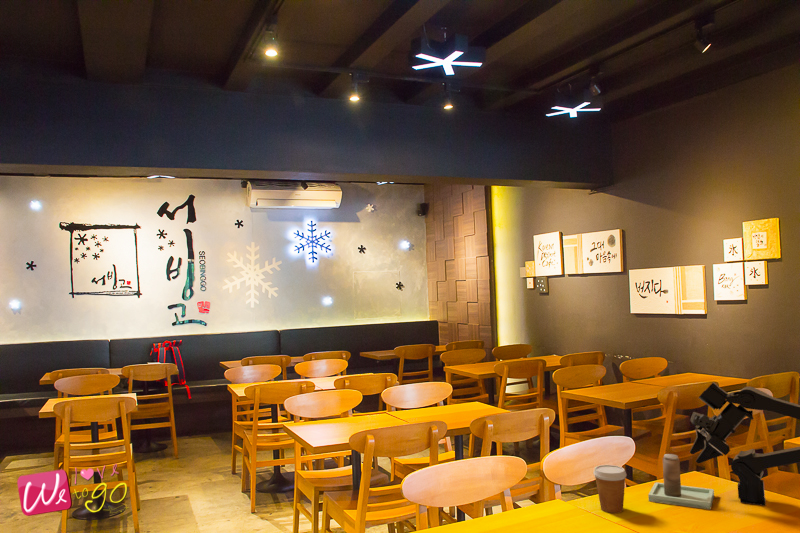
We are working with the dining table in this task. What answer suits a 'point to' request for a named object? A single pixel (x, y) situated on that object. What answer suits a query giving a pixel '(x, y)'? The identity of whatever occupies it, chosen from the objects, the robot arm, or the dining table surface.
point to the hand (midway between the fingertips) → (693, 457)
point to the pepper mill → (671, 475)
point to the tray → (683, 496)
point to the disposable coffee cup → (610, 487)
